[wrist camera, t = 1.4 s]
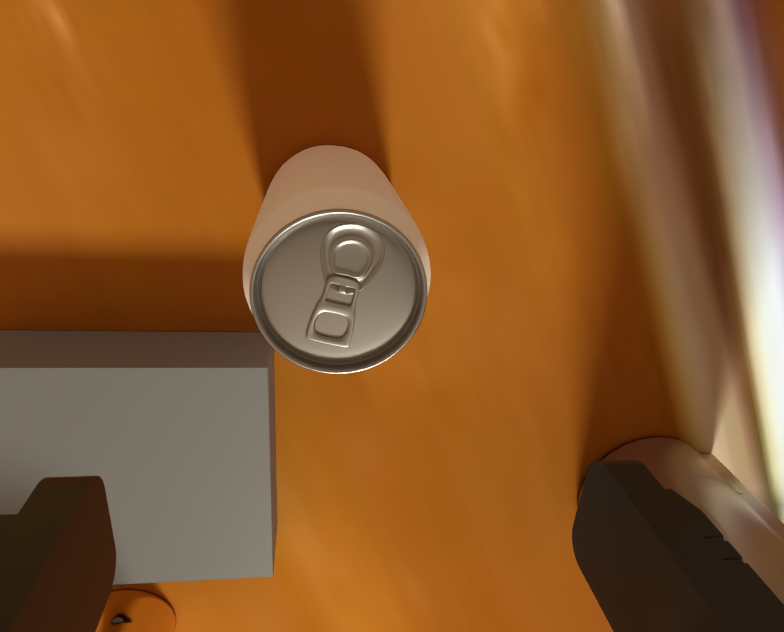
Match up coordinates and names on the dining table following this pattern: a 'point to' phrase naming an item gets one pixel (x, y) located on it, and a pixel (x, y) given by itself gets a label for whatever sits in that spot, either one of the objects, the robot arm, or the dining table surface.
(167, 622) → the beer glass
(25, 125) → the dining table surface
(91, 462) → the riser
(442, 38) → the dining table surface
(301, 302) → the can
